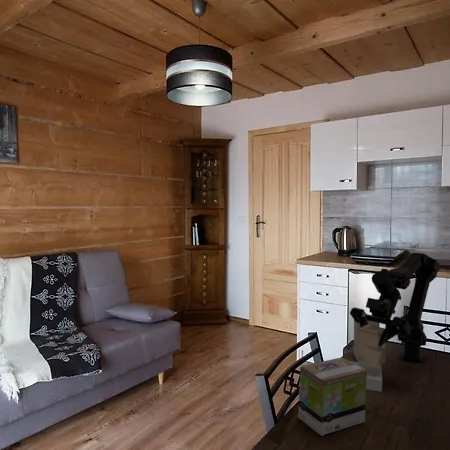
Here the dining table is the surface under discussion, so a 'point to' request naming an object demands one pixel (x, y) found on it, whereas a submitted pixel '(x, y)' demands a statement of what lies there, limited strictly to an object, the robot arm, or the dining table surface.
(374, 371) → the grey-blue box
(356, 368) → the tea box
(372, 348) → the birch block
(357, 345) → the skincare box
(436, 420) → the dining table surface
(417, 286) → the robot arm
